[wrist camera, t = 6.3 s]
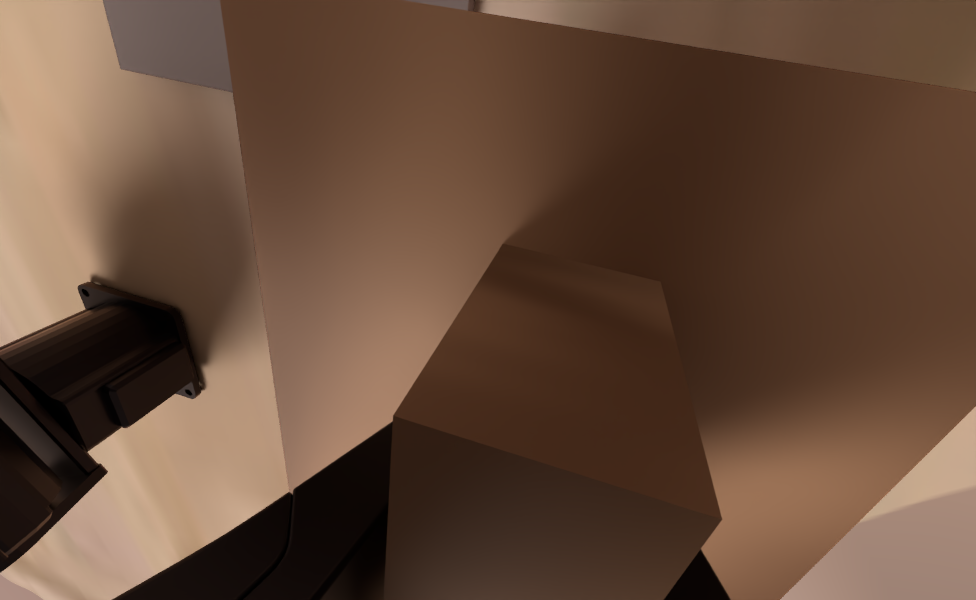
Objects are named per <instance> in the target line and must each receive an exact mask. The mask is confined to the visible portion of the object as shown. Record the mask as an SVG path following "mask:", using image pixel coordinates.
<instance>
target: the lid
mask: <svg viewBox="0 0 976 600" xmlns="http://www.w3.org/2000/svg"><path fill="white" fill-rule="evenodd" d="M220 5H221V12H222V19H223V26H224V33H225V40H226V47H227V54H228V61H229V68H230V75H231V82H232V90H233V97H234V104H235V111H236V118H237V125H238V132H239V139H240V146H241V153H242V160H243V168H244V175H245V182H246V189H247V196H248V203H249V210H250V217H251V224H252V231H253V238H254V245H255V253H256V260H257V267H258V274H259V281H260V288H261V295H262V302H263V309H264V316H265V323H266V331H267V338H268V345H269V352H270V359H271V366H272V373H273V380H274V387H275V394H276V401H277V408H278V416H279V423H280V430H281V437H282V444H283V451H284V458H285V465H286V472H287V479H288V486H289V492H290V493H292V494H293V489H294V488H296V487H297V486H299V485H300V484H302V483H303V482H304V481H306V480H307V479H309V478H310V477H312V476H313V475H315V474H316V473H318V472H319V471H321V470H322V469H323V468H325V467H326V466H328V465H329V464H331V463H332V462H334V461H335V460H337V459H338V458H339V457H341V456H342V455H344V454H345V453H347V452H348V451H350V450H351V449H353V448H354V447H356V446H357V445H358V444H360V443H361V442H363V441H364V440H366V439H367V438H369V437H370V436H372V435H373V434H375V433H376V432H377V431H379V430H380V429H382V428H383V427H385V426H386V425H388V424H389V423H391V422H392V421H393V426H392V446H391V465H390V485H389V505H388V524H387V544H386V564H385V583H384V600H664V599H665V597H666V596H667V594H668V593H669V592H670V590H671V589H672V588H673V586H674V585H675V584H676V582H677V581H678V579H679V578H680V577H681V575H682V574H683V573H684V571H685V570H686V568H687V567H688V566H689V564H690V563H691V562H692V560H693V559H694V558H695V556H696V555H697V553H698V552H699V551H700V549H701V550H702V551H703V553H704V555H705V556H706V558H707V560H708V561H709V563H710V565H711V567H712V568H713V570H714V572H715V573H716V575H717V577H718V578H719V580H720V582H721V583H722V585H723V587H724V588H725V590H726V592H727V594H728V595H729V597H730V599H731V600H780V599H781V598H782V597H783V596H784V595H785V594H786V593H787V592H788V591H789V590H790V589H791V588H792V587H793V586H794V585H795V584H796V583H797V582H798V581H799V580H800V579H801V578H802V577H803V576H804V575H805V574H806V573H807V572H808V571H809V570H810V569H811V568H812V567H813V566H814V565H815V564H816V563H817V562H818V561H819V560H820V559H821V558H823V556H825V555H826V554H827V553H828V552H829V551H830V550H831V549H832V548H833V547H834V546H835V545H836V544H837V543H838V542H839V541H840V540H841V539H842V538H843V537H844V536H845V535H846V534H847V533H848V532H849V531H850V530H851V529H852V528H853V527H854V526H855V525H856V524H857V523H858V522H859V521H860V520H861V519H862V518H863V517H864V516H865V515H866V514H867V513H868V512H869V511H870V510H871V509H872V508H873V507H874V506H875V505H876V504H877V503H878V502H879V501H880V500H881V499H882V498H883V497H884V496H885V495H886V494H887V493H888V492H889V491H890V490H891V489H892V488H893V487H894V486H895V485H896V484H897V483H898V482H899V481H900V480H901V479H902V478H903V477H904V476H905V475H906V474H908V473H909V472H910V471H911V470H912V469H913V468H914V467H915V466H916V465H917V464H918V463H919V462H920V461H921V460H922V459H923V458H924V457H925V456H926V455H927V454H928V453H929V452H930V451H931V450H932V449H933V448H934V447H935V446H936V445H937V444H938V443H939V442H940V441H941V440H942V439H943V438H944V437H945V436H946V435H947V434H948V433H949V432H950V431H951V430H952V429H953V428H954V427H955V426H956V425H957V424H958V423H959V422H960V421H961V420H962V419H963V418H964V417H965V416H966V415H967V414H968V413H969V412H970V411H971V410H972V409H973V408H974V407H975V406H976V92H972V91H966V90H960V89H954V88H948V87H941V86H935V85H929V84H923V83H916V82H910V81H904V80H898V79H891V78H885V77H879V76H873V75H866V74H860V73H854V72H848V71H841V70H835V69H829V68H823V67H816V66H810V65H804V64H798V63H792V62H785V61H779V60H773V59H767V58H760V57H754V56H748V55H742V54H735V53H729V52H723V51H717V50H710V49H704V48H698V47H692V46H685V45H679V44H673V43H667V42H661V41H654V40H648V39H642V38H636V37H629V36H623V35H617V34H611V33H604V32H598V31H592V30H586V29H579V28H573V27H567V26H561V25H554V24H548V23H542V22H536V21H529V20H523V19H517V18H511V17H505V16H498V15H492V14H486V13H480V12H473V11H467V10H461V9H455V8H448V7H442V6H436V5H430V4H423V3H417V2H411V1H405V0H220Z"/></svg>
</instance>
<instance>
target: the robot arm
mask: <svg viewBox="0 0 976 600" xmlns="http://www.w3.org/2000/svg"><path fill="white" fill-rule="evenodd" d="M78 291H79V294H80V296H81V299H82V301H83V304H84V306H85V310H83V311H81V312H79V313H76V314H74V315H72V316H70V317H67V318H65V319H63V320H61V321H58V322H56V323H54V324H51V325H49V326H47V327H45V328H42V329H40V330H38V331H36V332H33V333H31V334H29V335H27V336H24V337H22V338H20V339H17V340H15V341H13V342H11V343H8V344H6V345H4V346H2V347H0V572H2V571H3V570H4V569H6V568H7V567H9V566H10V565H11V564H12V563H14V562H15V561H16V560H17V559H19V558H20V557H21V556H22V555H24V554H25V553H26V552H27V551H28V550H29V549H30V548H31V547H32V546H33V545H35V544H36V543H37V542H38V541H39V540H40V539H41V538H42V537H43V536H44V535H45V534H46V533H47V532H48V531H49V530H50V529H51V528H52V527H53V526H54V525H55V524H56V523H57V522H58V521H59V520H60V519H61V518H62V517H63V516H64V515H65V514H66V513H67V512H68V511H69V510H70V509H71V508H72V507H73V506H74V505H75V504H76V503H77V502H78V501H79V500H80V499H81V498H82V497H83V496H84V495H85V494H86V493H87V492H88V491H89V490H90V489H91V488H92V487H93V486H94V485H95V484H96V483H98V482H99V481H100V480H101V479H102V478H103V477H104V476H105V475H106V474H107V472H108V471H107V470H106V469H105V468H104V467H103V466H102V464H97V463H96V461H95V460H94V459H93V458H92V457H91V456H90V455H89V454H88V453H87V452H88V451H89V450H91V449H92V448H93V447H95V446H96V445H98V444H99V443H100V442H102V441H103V440H105V439H106V438H107V437H109V436H110V435H112V434H113V433H114V432H116V431H117V430H119V429H120V428H121V427H123V428H128V427H130V426H131V425H132V424H134V423H135V422H137V421H138V420H139V419H141V418H142V417H143V416H145V415H146V414H148V413H149V412H150V411H152V410H153V409H155V408H156V407H157V406H159V405H160V404H161V403H163V402H164V401H166V400H167V399H168V398H170V397H171V396H172V395H174V394H175V393H176V394H179V395H182V396H185V397H187V398H191V399H194V398H196V397H197V396H198V395H200V393H201V389H200V385H199V381H198V378H197V374H196V370H195V366H194V362H193V359H192V355H191V351H190V347H189V343H188V340H187V336H186V332H185V328H184V325H183V321H182V317H181V315H180V313H179V312H178V311H177V310H176V309H175V308H173V307H171V306H167V305H164V304H161V303H157V302H154V301H151V300H147V299H144V298H141V297H137V296H134V295H131V294H128V293H124V292H121V291H118V290H114V289H111V288H108V287H104V286H101V285H98V284H94V283H91V282H86V283H84V284H81V285H79V286H78ZM392 426H393V421H392V422H391V423H389V424H388V425H386V426H385V427H383V428H382V429H380V430H379V431H377V432H376V433H375V434H373V435H372V436H370V437H369V438H367V439H366V440H364V441H363V442H361V443H360V444H358V445H357V446H356V447H354V448H353V449H351V450H350V451H348V452H347V453H345V454H344V455H342V456H341V457H339V458H338V459H337V460H335V461H334V462H332V463H331V464H329V465H328V466H326V467H325V468H323V469H322V470H321V471H319V472H318V473H316V474H315V475H313V476H312V477H310V478H309V479H307V480H306V481H304V482H303V483H302V484H300V485H299V486H297V487H296V488H294V489H293V494H292V493H290V492H288V493H286V494H285V495H284V496H282V497H281V498H279V499H278V500H276V501H275V502H273V503H272V504H270V505H269V506H268V507H266V508H265V509H263V510H262V511H260V512H258V513H257V514H255V515H254V516H252V517H251V518H249V519H248V520H246V521H245V522H243V523H242V524H240V525H239V526H237V527H235V528H234V529H232V530H231V531H229V532H228V533H226V534H225V535H223V536H221V537H220V538H218V539H216V540H214V541H213V542H211V543H209V544H208V545H206V546H204V547H203V548H201V549H199V550H198V551H196V552H194V553H193V554H191V555H189V556H188V557H186V558H184V559H182V560H181V561H179V562H177V563H176V564H174V565H172V566H170V567H169V568H167V569H165V570H163V571H162V572H160V573H158V574H156V575H155V576H153V577H151V578H149V579H148V580H146V581H144V582H142V583H141V584H139V585H137V586H135V587H133V588H132V589H130V590H128V591H126V592H125V593H123V594H121V595H119V596H118V597H116V598H114V599H112V600H384V583H385V564H386V544H387V524H388V505H389V485H390V465H391V446H392ZM664 600H731V599H730V597H729V595H728V594H727V592H726V590H725V588H724V587H723V585H722V583H721V582H720V580H719V578H718V577H717V575H716V573H715V572H714V570H713V568H712V567H711V565H710V563H709V561H708V560H707V558H706V556H705V555H704V553H703V551H702V550H701V549H700V551H699V552H698V553H697V555H696V556H695V558H694V559H693V560H692V562H691V563H690V564H689V566H688V567H687V568H686V570H685V571H684V573H683V574H682V575H681V577H680V578H679V579H678V581H677V582H676V584H675V585H674V586H673V588H672V589H671V590H670V592H669V593H668V594H667V596H666V597H665V599H664Z"/></svg>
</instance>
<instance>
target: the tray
mask: <svg viewBox="0 0 976 600" xmlns="http://www.w3.org/2000/svg"><path fill="white" fill-rule="evenodd" d="M405 1H411V2H417V3H423V4H430V5H436V6H442V7H448V8H455V9H461V10H467V11H474V2H475V0H405ZM103 3H104V7H105V11H106V15H107V19H108V22H109V26H110V30H111V34H112V38H113V42H114V46H115V49H116V53H117V57H118V61H119V65H120V69H123V70H127V71H132V72H137V73H142V74H147V75H152V76H156V77H161V78H166V79H171V80H176V81H180V82H185V83H190V84H195V85H200V86H205V87H209V88H214V89H219V90H224V91H229V92H233V90H232V82H231V75H230V68H229V61H228V54H227V47H226V40H225V33H224V26H223V19H222V12H221V5H220V0H103Z"/></svg>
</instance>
